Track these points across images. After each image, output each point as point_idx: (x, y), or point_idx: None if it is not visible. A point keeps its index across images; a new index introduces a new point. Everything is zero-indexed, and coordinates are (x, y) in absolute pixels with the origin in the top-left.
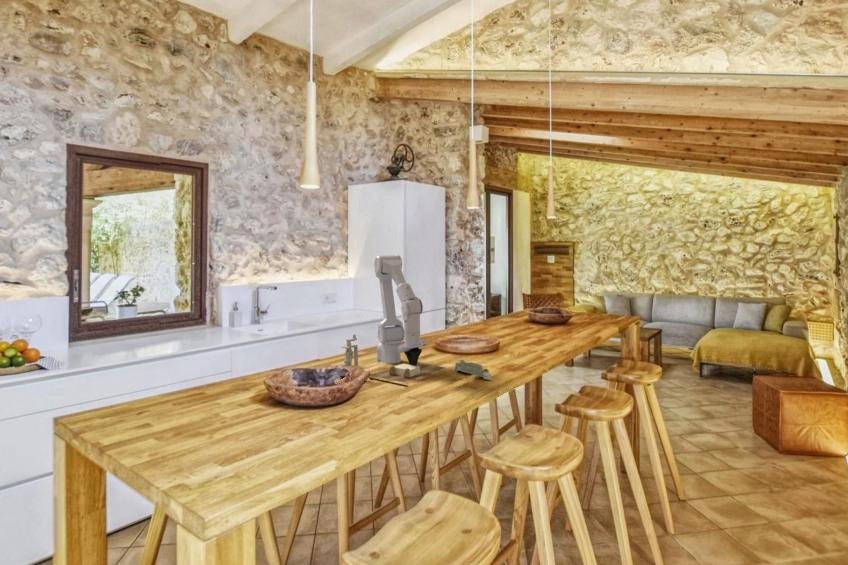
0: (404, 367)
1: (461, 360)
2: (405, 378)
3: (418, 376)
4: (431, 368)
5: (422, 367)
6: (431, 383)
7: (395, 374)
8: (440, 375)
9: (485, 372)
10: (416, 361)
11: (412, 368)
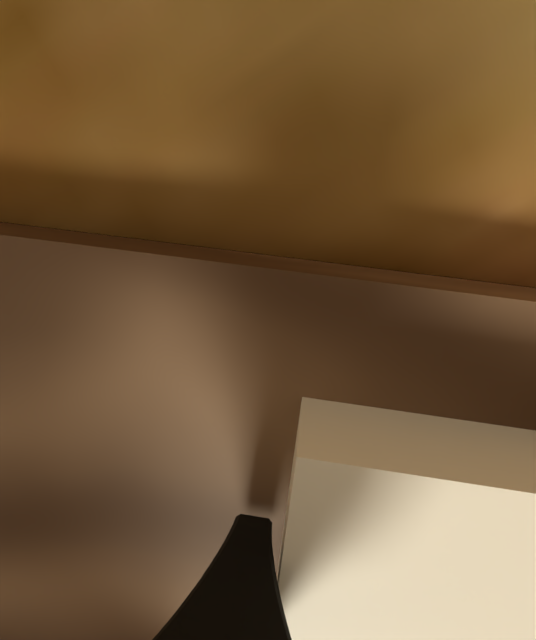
0: (461, 634)
1: None
2: None
3: (466, 337)
4: (1, 382)
5: (37, 499)
6: (513, 66)
7: None
8: (75, 183)
9: None
10: (227, 598)
11: (473, 509)
